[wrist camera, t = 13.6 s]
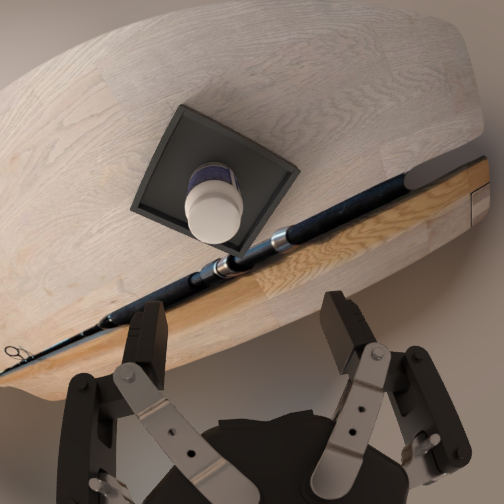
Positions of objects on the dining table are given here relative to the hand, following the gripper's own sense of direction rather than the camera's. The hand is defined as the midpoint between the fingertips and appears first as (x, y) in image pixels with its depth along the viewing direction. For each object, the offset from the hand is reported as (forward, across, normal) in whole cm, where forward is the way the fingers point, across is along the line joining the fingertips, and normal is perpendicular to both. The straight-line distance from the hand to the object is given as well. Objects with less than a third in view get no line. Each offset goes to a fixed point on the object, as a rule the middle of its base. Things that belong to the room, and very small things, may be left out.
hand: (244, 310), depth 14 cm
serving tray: (+23, +1, +2) cm, 23 cm away
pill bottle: (+23, +1, +2) cm, 23 cm away
